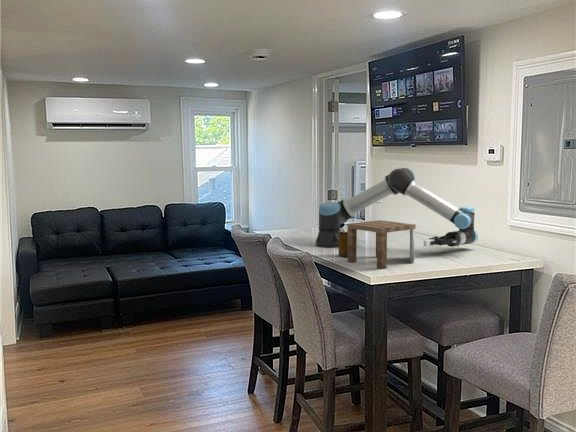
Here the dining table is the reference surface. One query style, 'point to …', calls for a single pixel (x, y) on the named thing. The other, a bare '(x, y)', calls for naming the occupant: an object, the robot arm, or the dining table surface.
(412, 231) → the pale teal panel
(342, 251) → the condiment
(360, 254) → the dining table surface
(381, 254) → the step stool
